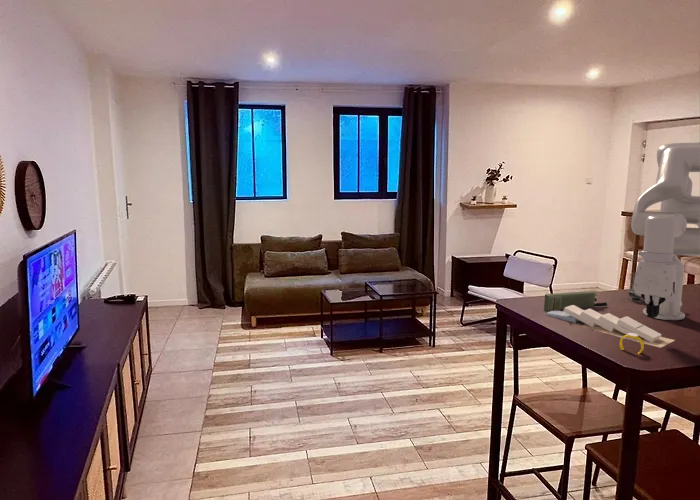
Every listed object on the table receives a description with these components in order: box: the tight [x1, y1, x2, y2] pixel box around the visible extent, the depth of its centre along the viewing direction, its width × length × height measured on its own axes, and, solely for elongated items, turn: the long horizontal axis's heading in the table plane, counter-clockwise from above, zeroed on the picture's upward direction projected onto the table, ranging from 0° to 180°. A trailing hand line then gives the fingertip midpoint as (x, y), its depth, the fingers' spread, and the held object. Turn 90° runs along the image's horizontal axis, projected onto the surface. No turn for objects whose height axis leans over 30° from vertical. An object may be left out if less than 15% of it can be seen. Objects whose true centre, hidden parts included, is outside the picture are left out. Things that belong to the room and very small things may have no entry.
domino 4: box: [599, 312, 633, 335], centre depth 159 cm, size 2×5×11 cm
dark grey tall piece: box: [627, 272, 644, 303], centre depth 195 cm, size 6×6×12 cm
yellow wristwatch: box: [619, 333, 645, 355], centre depth 143 cm, size 6×3×6 cm, turn 45°
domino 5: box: [617, 315, 662, 343], centre depth 154 cm, size 2×5×11 cm
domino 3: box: [580, 308, 616, 332], centre depth 164 cm, size 2×5×11 cm
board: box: [570, 321, 676, 349], centre depth 159 cm, size 10×28×1 cm, turn 36°
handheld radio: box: [543, 290, 608, 313], centre depth 186 cm, size 7×3×25 cm
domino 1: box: [545, 310, 580, 323], centre depth 174 cm, size 2×5×11 cm
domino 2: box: [562, 305, 598, 327], centre depth 169 cm, size 2×5×11 cm
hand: (652, 316), depth 151 cm, fingers closed
